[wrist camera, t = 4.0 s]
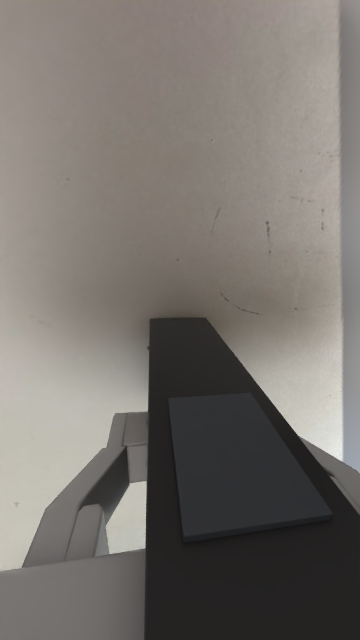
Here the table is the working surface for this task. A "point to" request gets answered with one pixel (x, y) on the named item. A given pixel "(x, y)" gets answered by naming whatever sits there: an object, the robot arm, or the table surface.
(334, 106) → the table surface
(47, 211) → the table surface
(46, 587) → the robot arm
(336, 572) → the device
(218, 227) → the table surface
